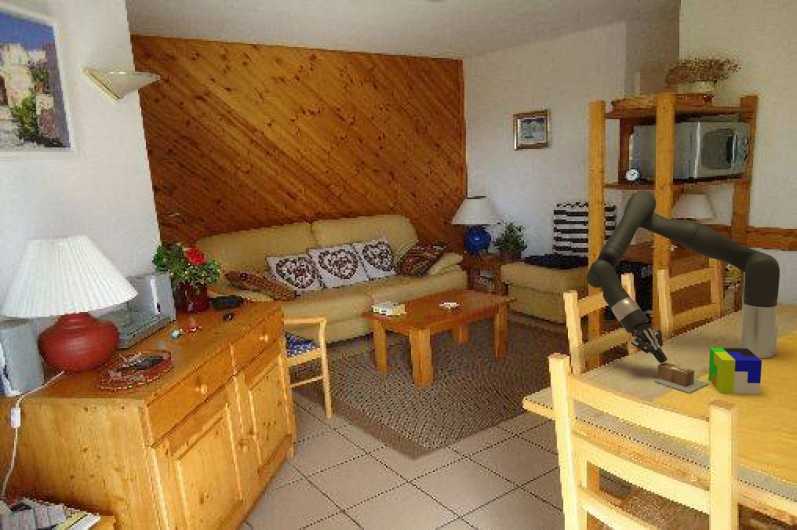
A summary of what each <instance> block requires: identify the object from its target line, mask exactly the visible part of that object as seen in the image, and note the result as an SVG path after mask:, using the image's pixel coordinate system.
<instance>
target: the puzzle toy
mask: <svg viewBox="0 0 797 530" xmlns="http://www.w3.org/2000/svg"><path fill="white" fill-rule="evenodd" d="M708 362H709V363H708V364H709V365H708V381H711V382H712V383H711V382H710V383H711V384H712V385H713V387H715V389H716V388H717V389H716V390H717V391H718V392H719V393H720V394H730V395H731V394H733V395H735V394H737V395H740V394H741V395H760V394H761V393H760V391H761V381H762V380H761V379H762V365H763V364H762V363H763V361H762V358H758V357H757V356H756V355H755V354H753V353H752V352H751V351H750V350H749V349H747V348H741V347H737V348H736V347H734V348H733V347H727V348H726V347H710V348H709V361H708Z"/></svg>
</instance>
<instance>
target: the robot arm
mask: <svg viewBox="0 0 797 530" xmlns="http://www.w3.org/2000/svg"><path fill="white" fill-rule="evenodd" d="M656 208H657V200H656V197H655V196H654V195H653V194H652V193H650V192H648V191H642V190H640V191H636V192H635V193H633V194H632V195H631V196H630V197H629V199H628V201H627V203H626V205H625V208H624V211H623V216H622V217H621V218H620V221H619V222H618V224H617V226H615V229H614V230H613V231H612V233H611V234H610V236H609V237H608V239H607V241H606V242H605V243H604V245H603V246H602V248H601V250H600V252H599V255H598V256H597V258H596V260H595V261H593V262H592V263H591V265H590V267H589V269H588V271H587V273H586V282H587V284H589V286H590V287H592V288H595V289H599V288H601V290H602V297H603V299H604V302H606V304H607V305H608V306H609V308H610V309H611V311H612V312H613V314H614V316H615V318H616V319H617V320H618V322H619V323H620V324H621V326H622V327H623V329H624V330H625V332H626V333H628V334H631V337H632V340H631V342H630V343H631V345H632V346H634V347H635V348H636V349H638V350H639V351H642V352H644V353H645V354H649V353H650V354H652V356H653V357H654V358H655V359H656V361H657V362H658V363H659V364H662V363H665V362H668V357H667V356H666V354H665V352H664V351H663V350H662V347H663V346H664V342H663V341H664V340H663V334H662V332H661V330H660V329H657V330H654V329H653V327H652V326H650V325H649V319H648V317H647V316H646V314H645V313H644V312H643V311H642V308H640V306H639V305H638V303H636V301H634V299H633V298H632V297H631V296H630V294H629V293H628V292H627V291H626V289H625V288H624V287H623V286H622V282H621V281H620V278H619V276H618V274H617V272H616V270H615V269H616V267H617V266H618V264H619V263H620V261H621V260H622V259H623V257H624V255H625V254H626V253H627V250H628V249H629V247H630V244H631V242H632V240H633V239H634V236H635V235H636V233H637V231H638V229H639V228H640V229H644V230H646V231H649V232H651V233H654V234H656V235H658V236H661V237H663V238H665V239H667V240H670V241H672V242H674V243H676V244H679V245H680V246H682V247H684V248H686V249H688V250H690V251H692V252H694V253H696V254H697V255H701V256H703V257H706V258H709V259H714V260H717V261H721V262H724V263H727V264H729V265H731V266H732V267H735V268H736V269H738V270H740V271H742V272H743V273H744V285H743V286H744V289H743V303H742V318H741V319H742V320H741V321H742V322H741V334H740V335H741V336H740V348H747V349H749V350H750V351H751V352H752V353H753V354H755V355H756V356H757V357H758V358H759V359H770V358H772V357H774V356H776V355H777V345H778V344H777V343H778V331H779V330H778V329H779V327H778V326H776V324H777V322H776V321H777V309H778V308H777V307H778V306H777V305H778V300H779V299H778V298H779V289H780V288H779V287H780V277H781V273H780V272H781V270H780V268H781V267H780V265H779V262H778V260H777V259H776V258H775V257H774V256H772V255H771V254H768V253H765V252H762V251H759V250H756V249H753V248H751V247H748V246H745V245H743V244H741V243H738V242H736V241H735V240H733V239H731V238H730V237H728V236H726V235H725V234H722V233H721V232H719V231H717V230H715V229H713V228H710V227H709V226H707V225H705V224H702V223H701V222H697V221H693V220H686V219H673V218H667V217H665V216H663V215H660V214H658V213H656V212H655V210H656Z"/></svg>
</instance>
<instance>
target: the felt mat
mask: <svg viewBox="0 0 797 530" xmlns="http://www.w3.org/2000/svg"><path fill="white" fill-rule="evenodd" d="M655 382H656V383H655ZM653 383H655V384H658V383H660V384H659V385H661V384H663V385H662V386H664V385H666V386H665V387H667V386H669V387H668V388H670V387H672V388H671V389H673V388H675V389H674V390H676V389H678V390H677V391H679V390H681V391H680V392H682V391H684V392H683V393H685V392H686V393H685V394H688V393H690V394H692V393H694V392H696V391H699V390H701V389H703V388H705V387H707V386H709V384H710V383H709V382H705V381H701V380H698V379H696V378H694V383H693V384H691V385H689V386H687V387H685V386H682V385H679V384H676V383H673V382H670V381H667V380H663V379H660V378H657V379H655V380H653ZM704 386H705V387H704ZM702 387H703V388H702ZM700 388H701V389H700ZM698 389H699V390H698ZM691 392H692V393H691Z"/></svg>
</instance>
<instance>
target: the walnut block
mask: <svg viewBox="0 0 797 530" xmlns="http://www.w3.org/2000/svg"><path fill="white" fill-rule="evenodd" d="M659 378H660V379H663V380H667V381H670V382H673V383H676V384H679V385H682V386H685V387H687V386H689V385H691V384H693V383H694V379H695V369H690V368H687V367H684V366H680V365H677V364H674V363H671V362H668V361H665V362H664V363H659V364H658V365H657V379H659Z"/></svg>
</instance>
